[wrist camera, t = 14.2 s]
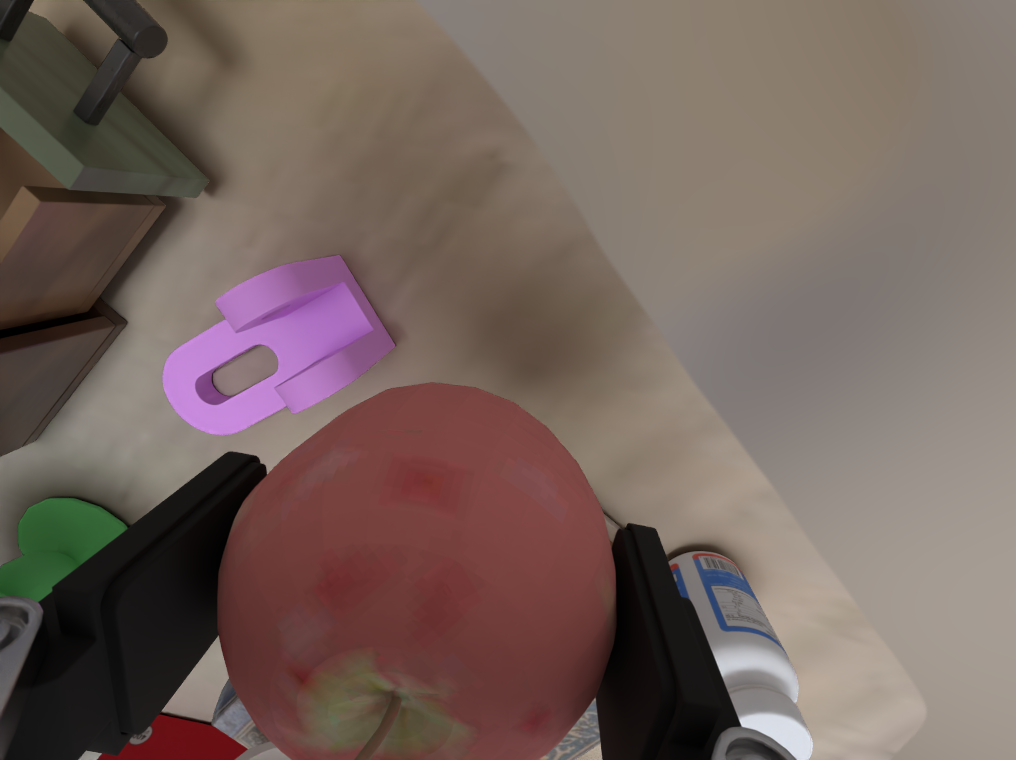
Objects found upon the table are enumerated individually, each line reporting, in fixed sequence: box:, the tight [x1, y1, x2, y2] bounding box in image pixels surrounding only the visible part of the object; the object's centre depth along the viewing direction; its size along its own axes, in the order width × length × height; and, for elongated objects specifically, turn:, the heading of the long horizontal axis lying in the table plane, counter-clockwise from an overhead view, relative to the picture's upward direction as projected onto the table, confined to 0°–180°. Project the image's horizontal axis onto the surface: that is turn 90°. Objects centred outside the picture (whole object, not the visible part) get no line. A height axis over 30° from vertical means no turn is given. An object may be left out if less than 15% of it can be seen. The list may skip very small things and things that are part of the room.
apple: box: [217, 383, 617, 760], centre depth 10 cm, size 7×7×8 cm
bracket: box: [163, 255, 395, 435], centre depth 24 cm, size 13×6×7 cm, turn 118°
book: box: [211, 513, 622, 760], centre depth 29 cm, size 17×7×25 cm
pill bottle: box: [668, 551, 813, 760], centre depth 25 cm, size 6×5×10 cm
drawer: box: [0, 0, 209, 330], centre depth 20 cm, size 15×9×7 cm, turn 133°
